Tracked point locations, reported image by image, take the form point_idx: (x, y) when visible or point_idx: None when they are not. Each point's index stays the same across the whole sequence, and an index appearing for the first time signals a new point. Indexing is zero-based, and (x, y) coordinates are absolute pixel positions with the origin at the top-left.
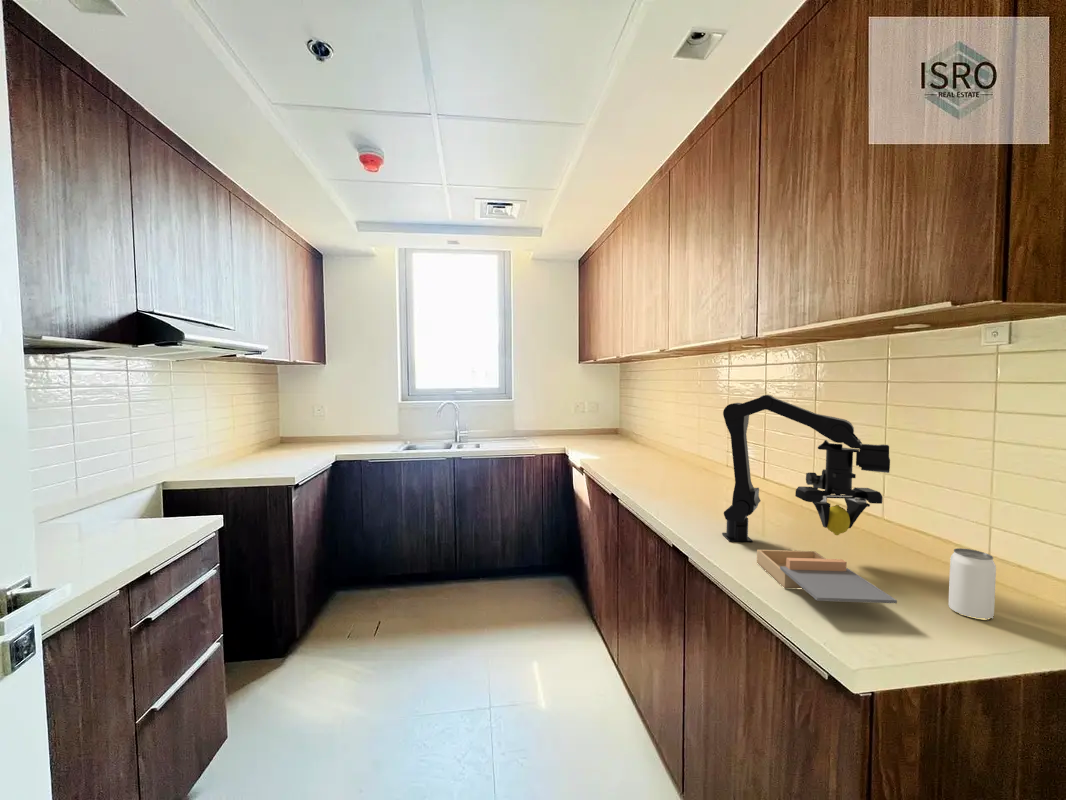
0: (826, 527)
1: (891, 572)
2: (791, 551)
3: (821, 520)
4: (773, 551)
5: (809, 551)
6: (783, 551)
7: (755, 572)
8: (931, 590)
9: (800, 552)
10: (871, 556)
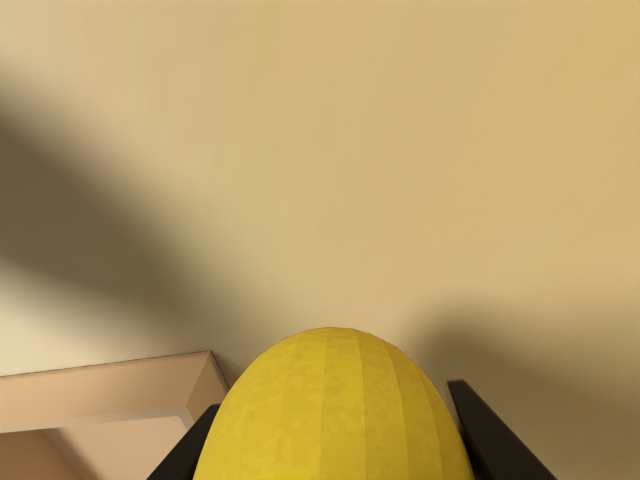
0: None
1: (521, 358)
2: (79, 424)
3: (170, 465)
4: (6, 430)
5: (160, 413)
6: (46, 427)
7: None
8: (548, 461)
9: (121, 418)
10: (586, 164)
